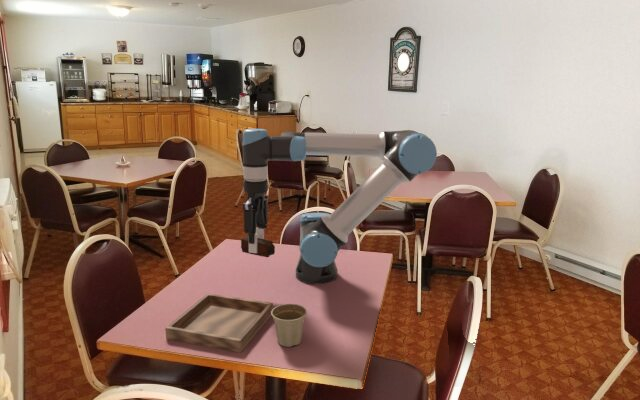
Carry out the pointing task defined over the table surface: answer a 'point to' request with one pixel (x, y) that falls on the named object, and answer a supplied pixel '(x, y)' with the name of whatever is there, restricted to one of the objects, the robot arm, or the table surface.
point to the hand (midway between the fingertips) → (256, 249)
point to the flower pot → (289, 323)
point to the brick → (259, 247)
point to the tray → (220, 322)
